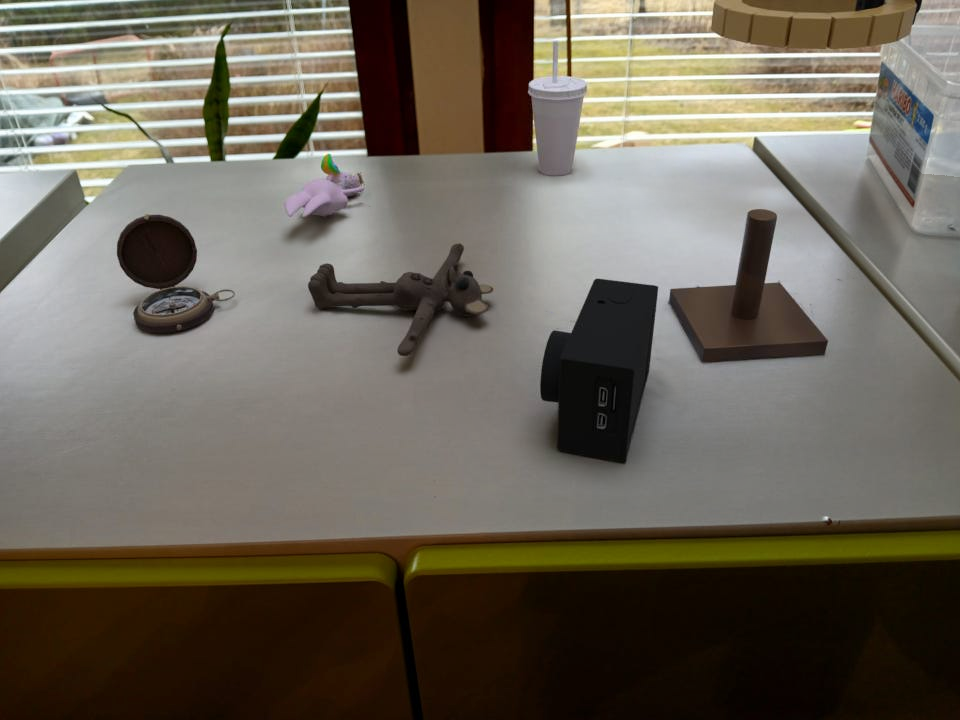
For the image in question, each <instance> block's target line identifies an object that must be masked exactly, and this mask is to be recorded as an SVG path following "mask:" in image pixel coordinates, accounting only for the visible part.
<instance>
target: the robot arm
mask: <svg viewBox="0 0 960 720" xmlns="http://www.w3.org/2000/svg"><path fill="white" fill-rule="evenodd" d="M914 1H915V2H916V4H917V7H916V11H915V16H914V20H913V24H912V26H913V25H914V24H915V21H916V18H917V14H918V13H919V12H920V10H921V7H922V3H923V0H914ZM883 4H884V0H857V2H856V7H855V11H861V10H867V9H873V8H878V7H880V6H883Z"/></svg>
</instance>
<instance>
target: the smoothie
mask: <svg viewBox="0 0 960 720" xmlns="http://www.w3.org/2000/svg"><path fill="white" fill-rule="evenodd" d="M551 70H552V71H551V73H552V74H551V75H549V76H541V77H537V78H534V79H532V80H531V81H529V83H528V90H527V94H529V96H530V97H531V107H532V115H533V125H534V133H535V140H536V141H535V142H536V151H537V152H536V153H537V161H538V169H539V173H541V174H543V175H545V176H553V177H560V176H566V175H569V174H571V172H572V171H573V166H574V159H575V155H576V154H575V153H576V148H577V141H578V134H579V128H580V123H581V116H582V110H583V104H584V97H585V96H586V95H587V94H588V82H587V81H586V80H585V79H583V78H580V77H576V76H567V75H558V74H559V72H558V71H559V40H553V41H552V69H551Z"/></svg>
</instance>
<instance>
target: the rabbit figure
mask: <svg viewBox="0 0 960 720" xmlns="http://www.w3.org/2000/svg"><path fill="white" fill-rule="evenodd" d="M320 169H321V171H322V172H323V173H324V174H325V175H327V176H326V178H323V177H321V178H314V179H312V180H309V181H308V182H307V183H305V184H304V185H303V187H302V188H301V189H300V192H298V193H294V194H292V195H289V196H288V197H287V198H286V199H285V202H284V210H285V214H286V215H287V216H288V217H292V216H294V214H296V213H297V212H299V210H300V209H302V208H303V213H302V218H307V217H308V216H310V215H313V216H321V217H322V218H326V217H327V216H332V215H333V214H334V213H335V212H340V211H342V210H343V209H345V207H346V206H347V205H348V203H349V198H348V197H355V196H356V195H357V194H358V193H362V192H364V191H365V187H364V186H365V185H366V184H365V180H364V179H363V175H362V171H361V170H360V171H359V172H356V173H355V175H353V174H351V173H349V172H344V171H341V169H339V167H338V166H337V164H335V163H334V161H333V158H332V154H331V153H327V154H325V155H324V156H323V157H322V160H321V163H320Z"/></svg>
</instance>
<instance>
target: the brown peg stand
mask: <svg viewBox="0 0 960 720" xmlns="http://www.w3.org/2000/svg"><path fill="white" fill-rule="evenodd" d="M777 220H778V214H777V213H776V212H774V211H772V210H770V209H766V208H765V209H764V208H754V209H751V210H748V212H747V215H746V219H745V224H744V225H745V226H744V231H743V237H742V244H741V249H740V256H739V261H738V268H737V273H736V279H735V284H727V285H711V286H697V287H694V286H693V287H679V288H678V287H677V288H670V289H669V300H668V302H669V304H670V306H671V308H672V309H673V311H674V314H675V315H676V317H677V319H678V320H679V322H680V324H681V326H682V327H683V330H684V331H685V333H686V335H687V337H688V338H689V340H690V342H691V344H692V346H693V347H694V349H695V351H696V353H697V355H698V356H699V358H700V360H701V362H702V363H707V362H708V363H709V362H724V361H726V362H727V361H741V360H757V359H771V358H788V357H805V356H806V357H807V356H819V355H820V356H821V355H825V354H826V351H827V348H828V343H829V339H827V337H826V336H825V335H824V334H823V333H822V331H821V330H820V329H819V328H818V326H817V325H816V324H815V323H814V322H813V320H812V319H811V318H810V316H809V315H808V314H807V313H806V312H805V311H804V309H803V308H802V307H801V306H800V304H799V303H798V302H797V301H796V300H795V299H794V298H793V296H792V295H791V294H790V292H788V290H787V289H786V288H785V287H784V285H783V284H782V283H781V282H779V281H778V282H766V279H767V278H766V277H767V273H768V267H769V262H770V256H771V251H772V247H773V240H774V235H775V231H776V224H777Z"/></svg>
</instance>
